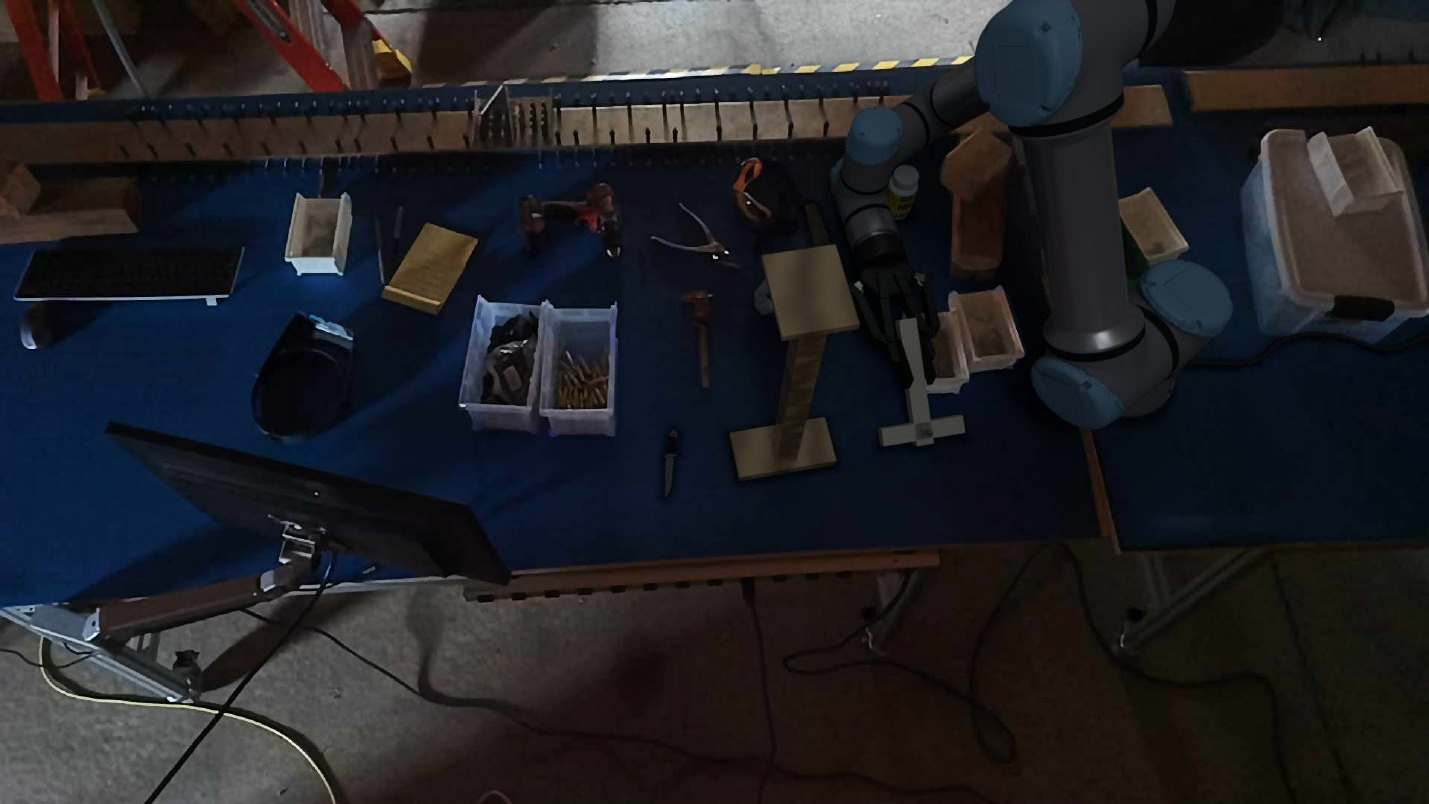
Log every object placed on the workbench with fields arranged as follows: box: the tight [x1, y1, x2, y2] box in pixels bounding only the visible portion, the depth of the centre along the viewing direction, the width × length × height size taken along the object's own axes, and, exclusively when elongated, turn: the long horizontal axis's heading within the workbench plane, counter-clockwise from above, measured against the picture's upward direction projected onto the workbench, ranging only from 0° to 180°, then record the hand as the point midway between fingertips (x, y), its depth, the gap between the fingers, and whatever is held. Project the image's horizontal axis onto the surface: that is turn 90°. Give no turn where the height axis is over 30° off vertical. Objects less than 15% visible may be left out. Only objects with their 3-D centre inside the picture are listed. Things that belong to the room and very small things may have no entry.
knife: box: [664, 429, 679, 498], centre depth 122 cm, size 10×2×1 cm, turn 170°
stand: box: [729, 243, 861, 482], centre depth 106 cm, size 14×10×40 cm
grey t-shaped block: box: [877, 318, 966, 447], centre depth 121 cm, size 12×18×5 cm, turn 10°
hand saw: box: [803, 203, 859, 319], centre depth 138 cm, size 24×5×1 cm, turn 15°
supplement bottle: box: [886, 164, 920, 221], centre depth 139 cm, size 5×5×8 cm
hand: (920, 382), depth 120 cm, fingers open, 3 cm apart
